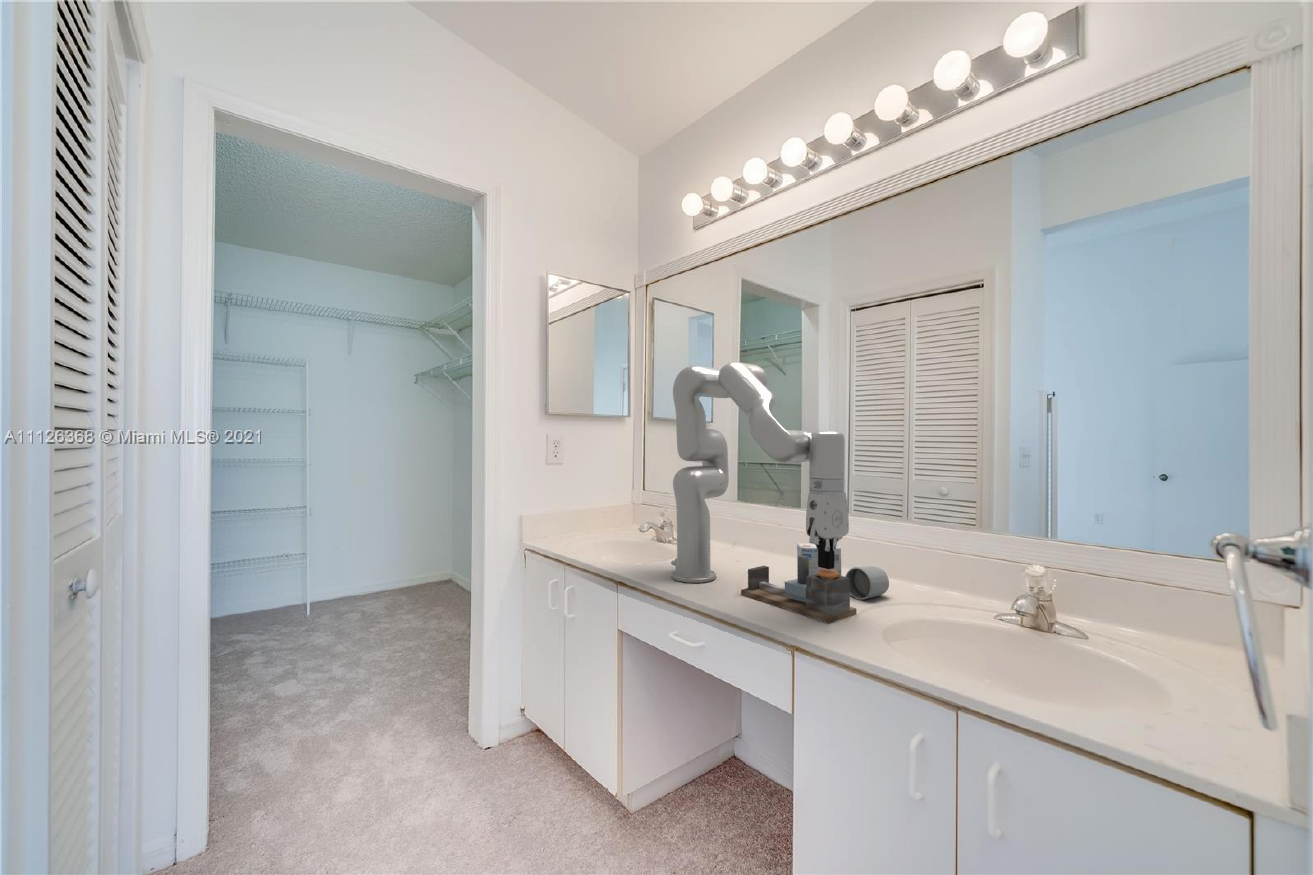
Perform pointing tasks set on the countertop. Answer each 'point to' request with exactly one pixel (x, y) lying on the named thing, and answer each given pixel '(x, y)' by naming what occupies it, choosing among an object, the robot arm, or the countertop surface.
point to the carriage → (799, 580)
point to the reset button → (828, 574)
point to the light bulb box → (812, 553)
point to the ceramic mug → (867, 582)
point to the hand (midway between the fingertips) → (826, 567)
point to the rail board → (822, 595)
